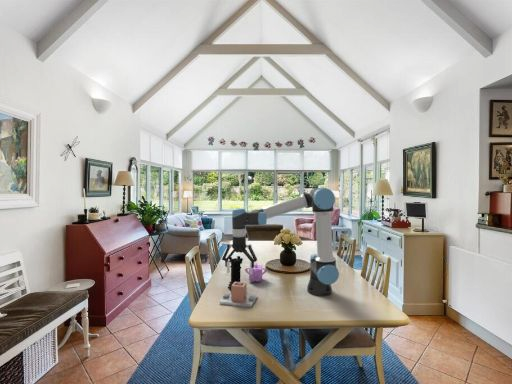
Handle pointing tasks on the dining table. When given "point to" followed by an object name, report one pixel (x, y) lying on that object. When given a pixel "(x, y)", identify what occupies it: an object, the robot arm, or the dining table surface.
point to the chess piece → (235, 270)
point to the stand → (246, 303)
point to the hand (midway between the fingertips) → (239, 273)
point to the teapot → (256, 273)
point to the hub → (238, 291)
